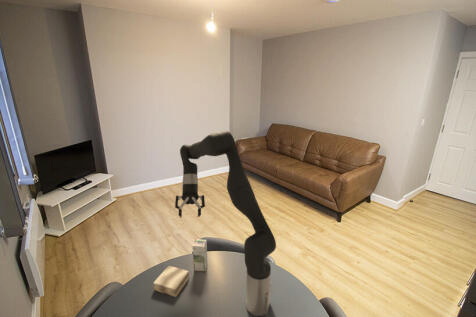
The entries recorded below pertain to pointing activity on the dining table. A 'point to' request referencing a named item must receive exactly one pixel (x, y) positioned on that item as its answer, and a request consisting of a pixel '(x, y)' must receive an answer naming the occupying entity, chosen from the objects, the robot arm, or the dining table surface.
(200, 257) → the syrup box
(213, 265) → the dining table surface
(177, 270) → the birch stand
